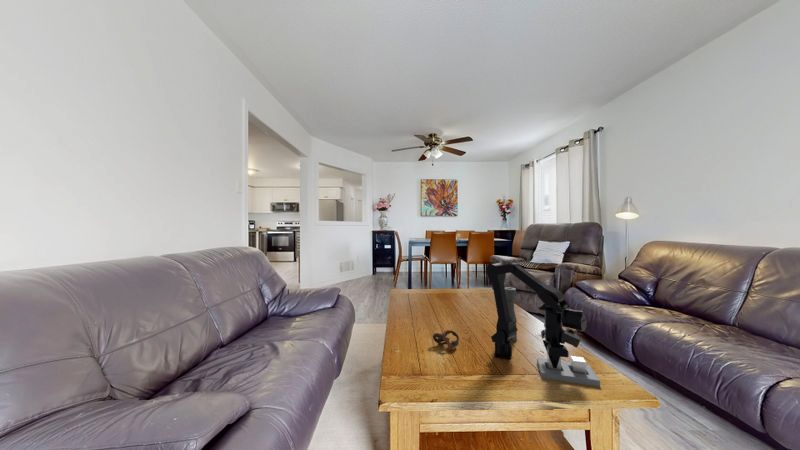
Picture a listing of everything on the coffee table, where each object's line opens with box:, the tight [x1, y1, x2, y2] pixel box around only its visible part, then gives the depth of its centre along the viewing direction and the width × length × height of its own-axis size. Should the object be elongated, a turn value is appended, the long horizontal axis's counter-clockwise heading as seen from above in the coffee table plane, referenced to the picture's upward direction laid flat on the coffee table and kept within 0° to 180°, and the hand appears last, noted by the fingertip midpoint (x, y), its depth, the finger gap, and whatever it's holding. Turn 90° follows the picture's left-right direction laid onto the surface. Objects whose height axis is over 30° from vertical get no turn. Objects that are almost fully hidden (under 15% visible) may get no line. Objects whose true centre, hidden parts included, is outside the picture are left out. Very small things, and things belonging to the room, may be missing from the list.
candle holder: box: [504, 286, 518, 342], centre depth 140 cm, size 6×6×25 cm
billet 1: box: [546, 352, 562, 371], centre depth 106 cm, size 4×4×6 cm
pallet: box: [536, 357, 601, 387], centre depth 105 cm, size 18×12×3 cm, turn 71°
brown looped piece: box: [432, 329, 460, 351], centre depth 132 cm, size 12×10×8 cm
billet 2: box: [570, 355, 587, 374], centre depth 104 cm, size 4×4×6 cm
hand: (553, 365), depth 106 cm, fingers closed on billet 1, 4 cm apart
